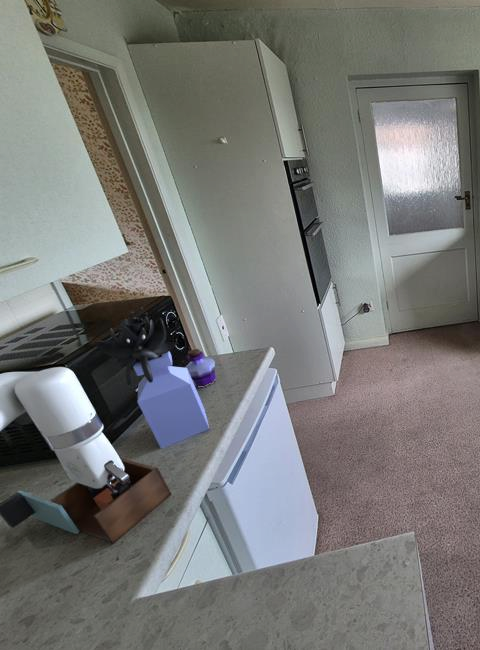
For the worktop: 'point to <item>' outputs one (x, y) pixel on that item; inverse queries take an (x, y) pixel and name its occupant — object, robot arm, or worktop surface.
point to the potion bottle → (200, 368)
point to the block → (104, 498)
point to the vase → (157, 380)
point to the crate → (116, 503)
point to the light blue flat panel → (35, 511)
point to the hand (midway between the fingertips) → (114, 497)
